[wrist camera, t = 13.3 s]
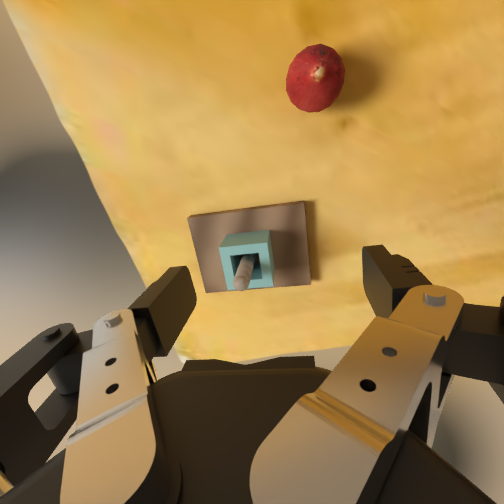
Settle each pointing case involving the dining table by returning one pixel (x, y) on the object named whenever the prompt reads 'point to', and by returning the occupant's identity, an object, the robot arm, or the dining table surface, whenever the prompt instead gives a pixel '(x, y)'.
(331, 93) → the onion
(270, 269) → the bead
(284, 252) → the stand
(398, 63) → the dining table surface
